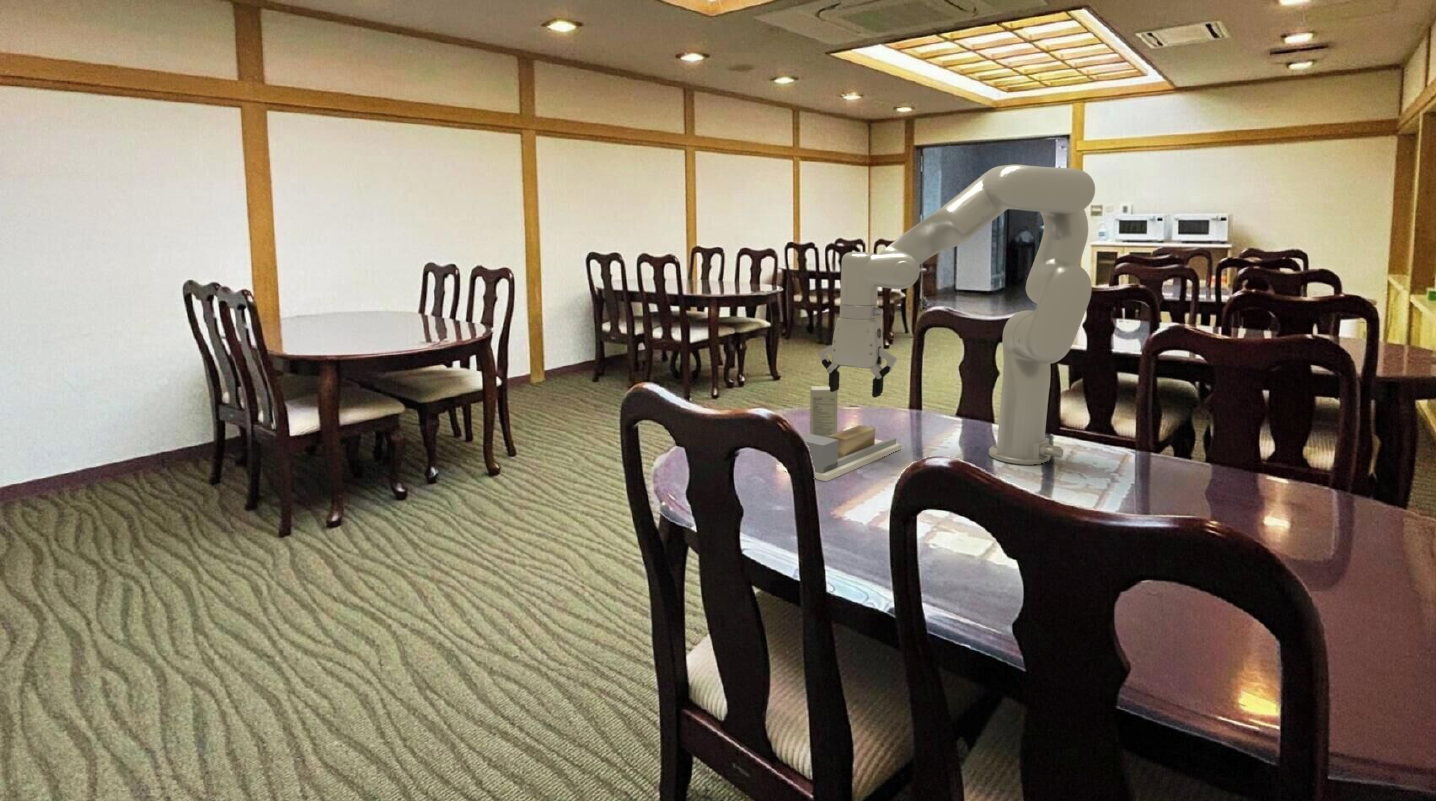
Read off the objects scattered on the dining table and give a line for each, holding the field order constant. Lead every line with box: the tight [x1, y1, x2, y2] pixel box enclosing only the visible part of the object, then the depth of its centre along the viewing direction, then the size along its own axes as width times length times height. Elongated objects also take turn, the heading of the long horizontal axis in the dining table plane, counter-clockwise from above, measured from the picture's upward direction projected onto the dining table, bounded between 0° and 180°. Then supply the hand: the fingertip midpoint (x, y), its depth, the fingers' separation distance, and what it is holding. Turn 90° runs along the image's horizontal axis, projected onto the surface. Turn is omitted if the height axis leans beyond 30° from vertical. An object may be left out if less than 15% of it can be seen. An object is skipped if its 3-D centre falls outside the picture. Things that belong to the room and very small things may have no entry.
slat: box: [829, 425, 876, 459], centre depth 183 cm, size 4×12×4 cm, turn 140°
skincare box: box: [809, 385, 839, 438], centre depth 197 cm, size 6×4×12 cm
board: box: [802, 432, 902, 482], centre depth 181 cm, size 10×30×7 cm, turn 140°
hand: (855, 393), depth 181 cm, fingers open, 9 cm apart
